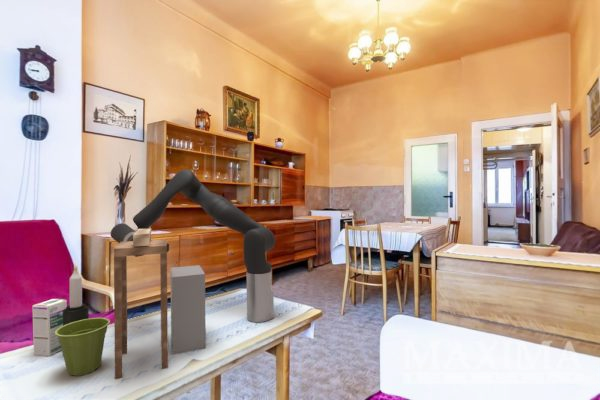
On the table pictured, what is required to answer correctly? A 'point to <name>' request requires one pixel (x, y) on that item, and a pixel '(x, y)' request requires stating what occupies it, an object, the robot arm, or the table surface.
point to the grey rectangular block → (187, 309)
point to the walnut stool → (121, 297)
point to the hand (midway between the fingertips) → (152, 252)
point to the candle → (75, 301)
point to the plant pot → (82, 344)
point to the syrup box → (47, 326)
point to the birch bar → (142, 237)
